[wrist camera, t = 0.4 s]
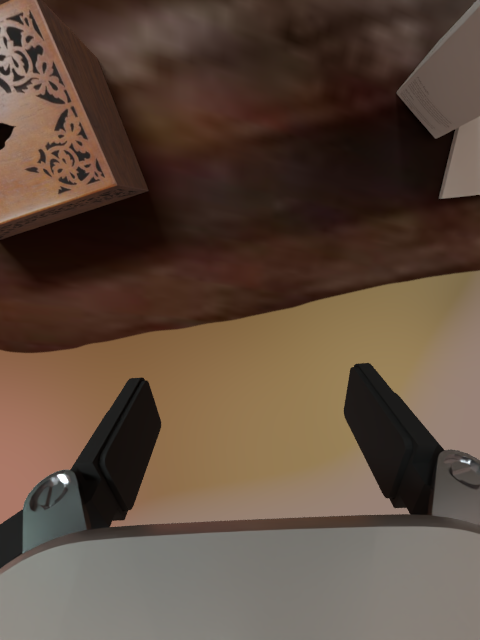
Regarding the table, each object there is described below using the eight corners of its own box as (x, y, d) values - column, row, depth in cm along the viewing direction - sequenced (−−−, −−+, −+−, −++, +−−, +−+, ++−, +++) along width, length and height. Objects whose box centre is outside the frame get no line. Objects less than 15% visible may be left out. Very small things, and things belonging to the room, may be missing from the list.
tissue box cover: (98, 59, 28) (32, -10, 19) (149, 191, 34) (117, 185, 25) (-76, 130, 31) (-204, 99, 22) (-1, 240, 37) (-77, 250, 28)
